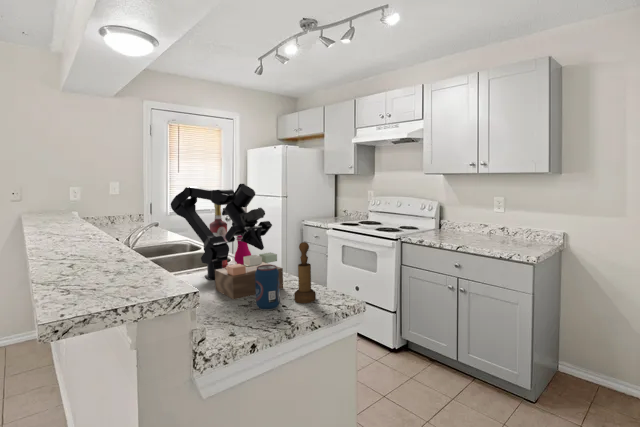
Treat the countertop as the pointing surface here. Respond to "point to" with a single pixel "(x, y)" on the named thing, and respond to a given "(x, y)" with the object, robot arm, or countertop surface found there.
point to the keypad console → (240, 282)
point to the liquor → (219, 227)
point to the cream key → (252, 260)
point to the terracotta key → (236, 269)
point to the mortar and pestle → (304, 278)
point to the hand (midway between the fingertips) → (262, 249)
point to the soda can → (267, 287)
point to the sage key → (268, 257)
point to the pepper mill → (241, 251)
